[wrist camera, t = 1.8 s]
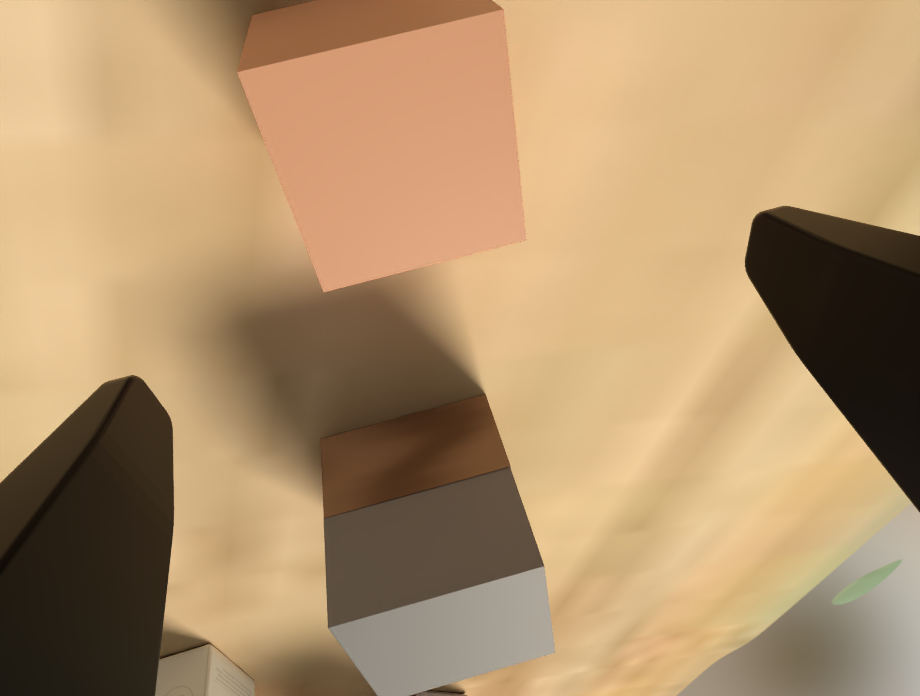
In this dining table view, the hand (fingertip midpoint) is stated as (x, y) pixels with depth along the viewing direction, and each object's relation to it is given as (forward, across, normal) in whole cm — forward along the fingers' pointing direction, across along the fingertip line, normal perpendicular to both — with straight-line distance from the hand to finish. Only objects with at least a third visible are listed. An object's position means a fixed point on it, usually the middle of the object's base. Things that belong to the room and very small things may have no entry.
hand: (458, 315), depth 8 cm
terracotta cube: (+10, 0, 0) cm, 10 cm away
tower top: (+6, +2, +16) cm, 17 cm away
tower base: (+10, +2, +16) cm, 19 cm away
